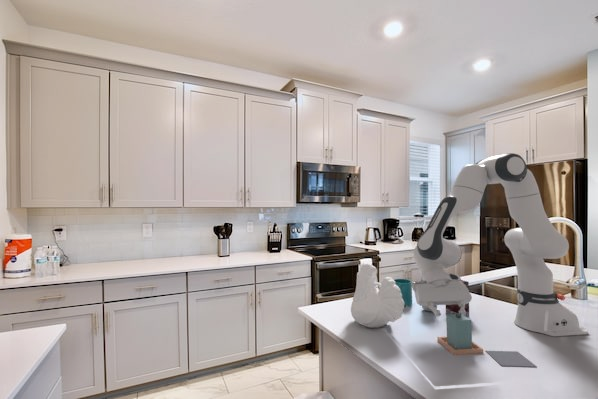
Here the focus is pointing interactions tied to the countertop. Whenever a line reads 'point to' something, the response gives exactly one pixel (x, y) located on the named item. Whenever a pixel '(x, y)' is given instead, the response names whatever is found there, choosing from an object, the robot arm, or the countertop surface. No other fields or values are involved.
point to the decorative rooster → (375, 299)
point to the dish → (463, 351)
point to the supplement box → (455, 307)
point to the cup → (405, 290)
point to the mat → (510, 359)
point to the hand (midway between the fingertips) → (451, 315)
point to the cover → (459, 331)
